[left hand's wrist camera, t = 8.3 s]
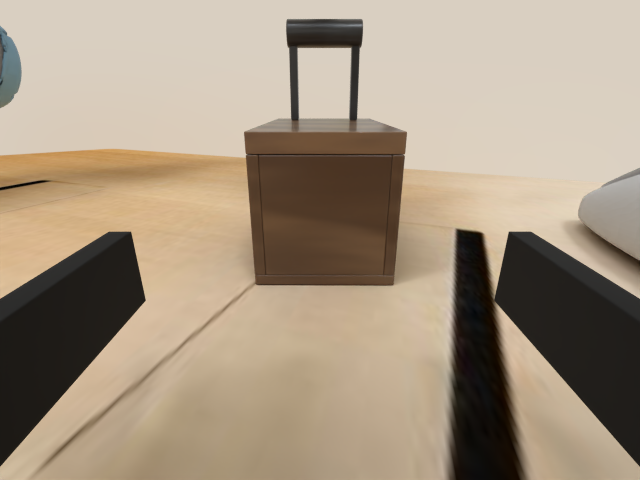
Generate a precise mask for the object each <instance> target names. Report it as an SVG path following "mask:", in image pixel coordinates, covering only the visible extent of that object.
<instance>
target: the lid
mask: <svg viewBox="0 0 640 480" xmlns="http://www.w3.org/2000/svg"><path fill="white" fill-rule="evenodd" d="M286 34H287V45H288V48H289V53H290V88H291V119H277V120H274V121H271V122H269V123H266V124H264V125H261V126H258V127H256V128H253V129H250V130H248V131H245V132H244V136H245V150H246V154H405V148H406V137H407V132H405V131H403V130H400V129H397V128H394V127H391V126H388V125H386V124H383V123H380V122H377V121H374V120H371V119H357V104H358V78H359V51H360V47H361V45H362V36H363V21H362V19H287V23H286ZM298 48H351V77H350V110H349V119H299V97H298Z"/></svg>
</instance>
